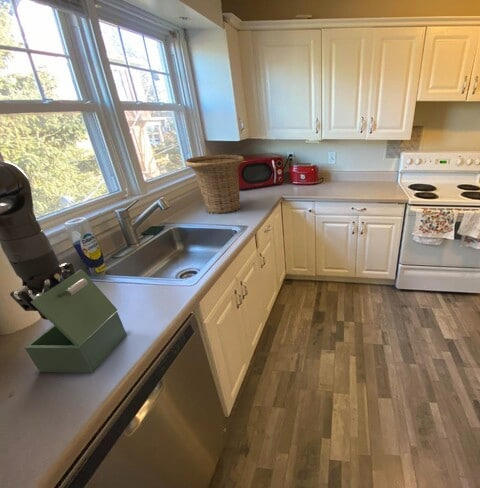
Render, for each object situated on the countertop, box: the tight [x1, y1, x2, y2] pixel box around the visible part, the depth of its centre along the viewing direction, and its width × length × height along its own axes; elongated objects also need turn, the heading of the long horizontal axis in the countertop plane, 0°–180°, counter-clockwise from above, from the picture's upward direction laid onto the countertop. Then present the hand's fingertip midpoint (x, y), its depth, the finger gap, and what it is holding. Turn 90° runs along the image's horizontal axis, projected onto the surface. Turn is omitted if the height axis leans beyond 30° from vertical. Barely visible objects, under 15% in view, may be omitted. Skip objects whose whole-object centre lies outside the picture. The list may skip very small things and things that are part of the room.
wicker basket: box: [184, 154, 245, 215], centre depth 182 cm, size 35×35×33 cm
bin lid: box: [31, 269, 118, 347], centre depth 70 cm, size 14×14×5 cm
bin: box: [23, 311, 127, 373], centre depth 76 cm, size 14×14×9 cm
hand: (61, 310), depth 72 cm, fingers closed on lemon, 5 cm apart
